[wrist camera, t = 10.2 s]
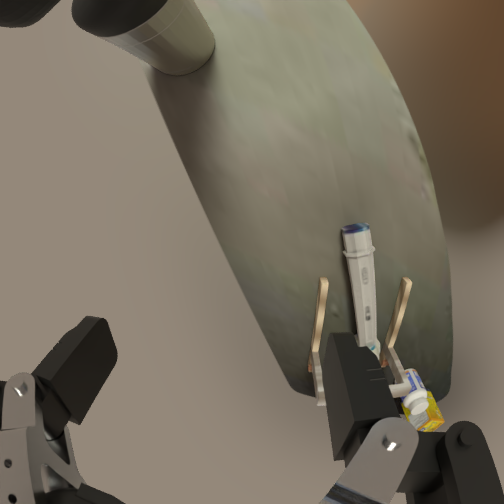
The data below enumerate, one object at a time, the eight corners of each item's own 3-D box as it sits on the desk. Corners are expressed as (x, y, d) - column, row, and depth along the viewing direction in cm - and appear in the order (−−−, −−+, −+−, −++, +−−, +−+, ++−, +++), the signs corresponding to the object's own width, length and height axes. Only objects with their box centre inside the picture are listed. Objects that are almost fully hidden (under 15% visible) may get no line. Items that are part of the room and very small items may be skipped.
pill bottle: (391, 386, 49) (403, 419, 40) (398, 369, 47) (412, 403, 38) (411, 382, 49) (425, 414, 40) (419, 365, 47) (435, 397, 38)
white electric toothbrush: (377, 224, 34) (386, 374, 39) (363, 218, 40) (376, 353, 45) (340, 232, 34) (357, 382, 39) (331, 225, 41) (349, 360, 46)
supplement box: (413, 404, 52) (426, 437, 42) (399, 401, 51) (412, 436, 41) (430, 389, 50) (445, 421, 40) (416, 385, 49) (431, 420, 39)
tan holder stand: (318, 277, 41) (333, 325, 29) (408, 276, 40) (443, 318, 28) (306, 364, 47) (312, 416, 36) (383, 359, 46) (402, 406, 35)
